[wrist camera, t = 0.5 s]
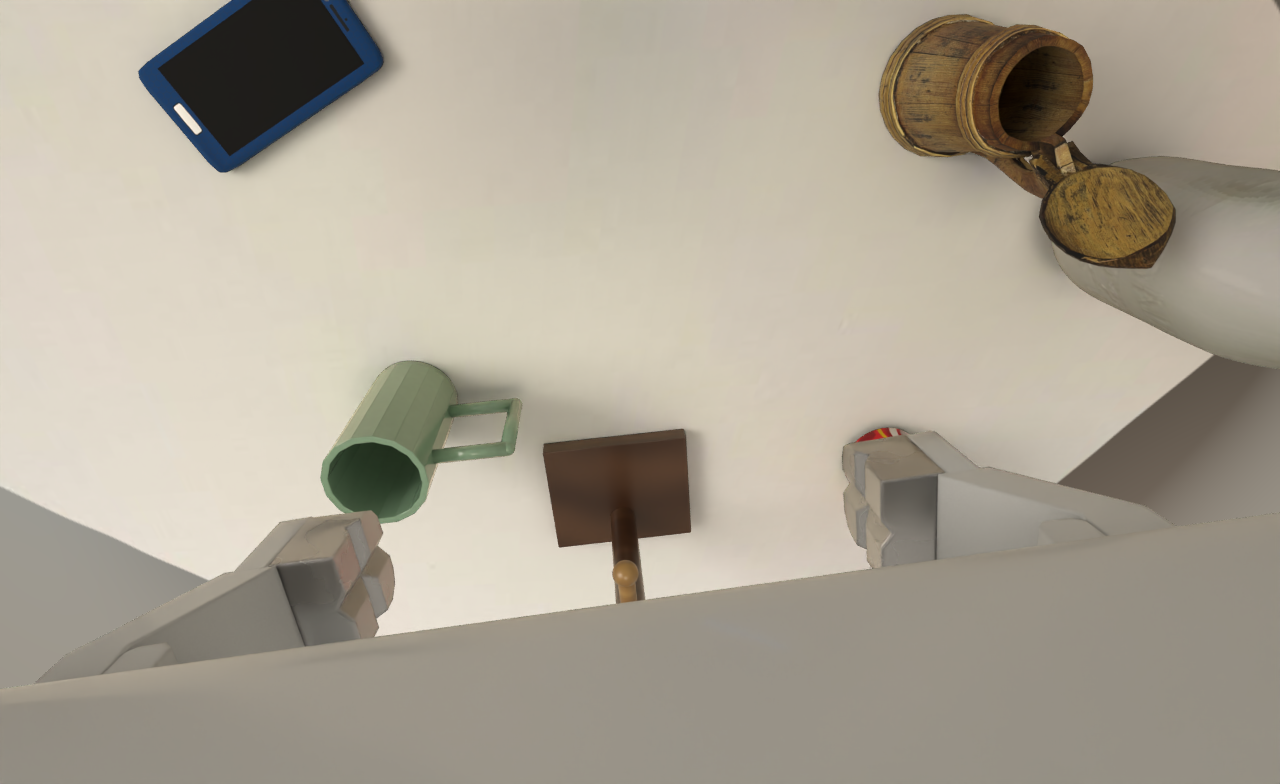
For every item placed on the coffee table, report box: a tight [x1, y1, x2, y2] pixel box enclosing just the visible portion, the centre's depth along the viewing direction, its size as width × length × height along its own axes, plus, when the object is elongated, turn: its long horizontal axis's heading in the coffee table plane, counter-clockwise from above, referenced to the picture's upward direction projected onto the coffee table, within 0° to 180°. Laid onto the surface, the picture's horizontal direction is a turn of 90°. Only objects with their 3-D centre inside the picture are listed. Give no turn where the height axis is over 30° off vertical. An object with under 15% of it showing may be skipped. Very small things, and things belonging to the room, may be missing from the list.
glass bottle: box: [1052, 156, 1280, 369], centre depth 40 cm, size 10×10×28 cm
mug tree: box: [543, 429, 691, 604], centre depth 47 cm, size 13×13×26 cm
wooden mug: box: [879, 14, 1176, 269], centre depth 40 cm, size 9×14×18 cm, turn 26°
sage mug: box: [321, 361, 522, 524], centre depth 49 cm, size 12×7×12 cm, turn 95°
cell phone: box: [138, 0, 383, 172], centre depth 43 cm, size 7×14×1 cm, turn 120°
